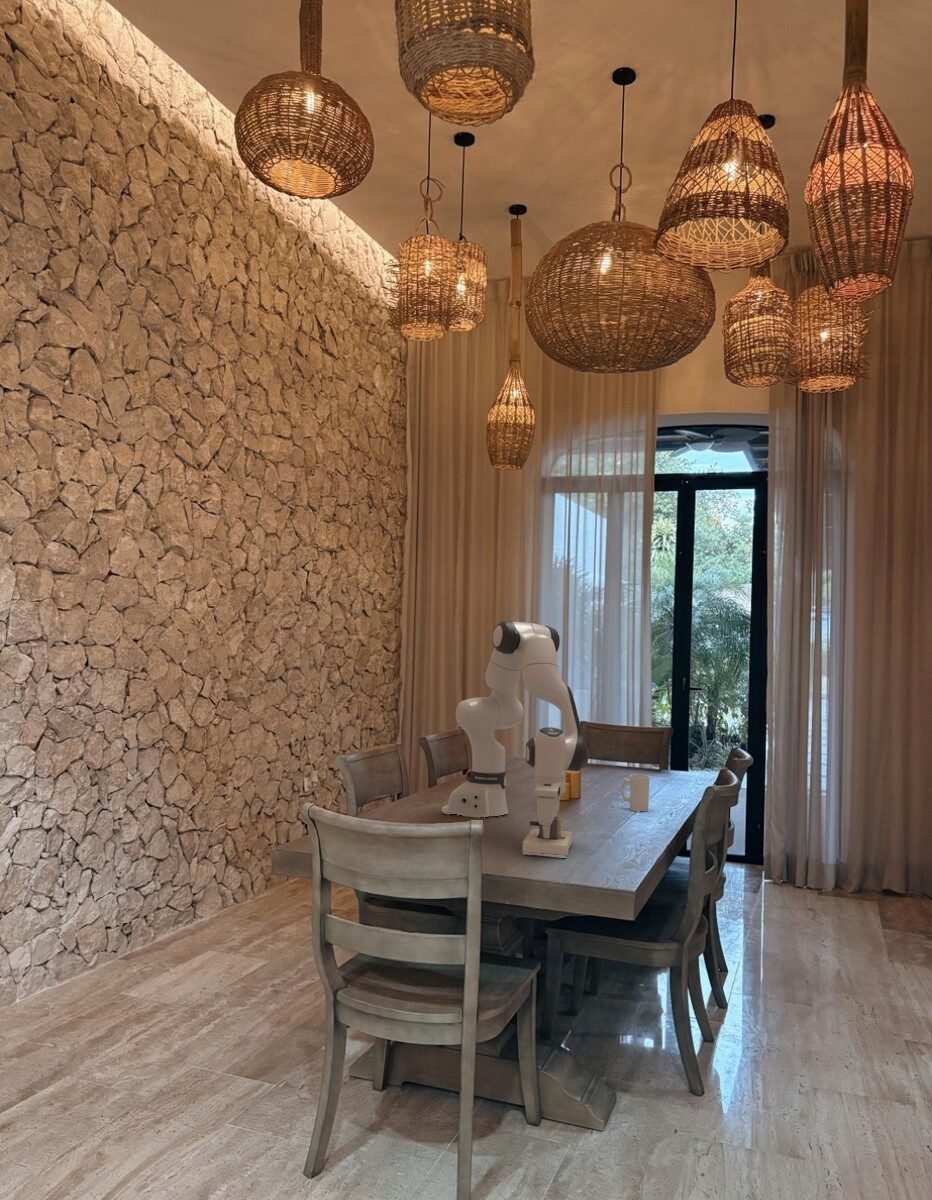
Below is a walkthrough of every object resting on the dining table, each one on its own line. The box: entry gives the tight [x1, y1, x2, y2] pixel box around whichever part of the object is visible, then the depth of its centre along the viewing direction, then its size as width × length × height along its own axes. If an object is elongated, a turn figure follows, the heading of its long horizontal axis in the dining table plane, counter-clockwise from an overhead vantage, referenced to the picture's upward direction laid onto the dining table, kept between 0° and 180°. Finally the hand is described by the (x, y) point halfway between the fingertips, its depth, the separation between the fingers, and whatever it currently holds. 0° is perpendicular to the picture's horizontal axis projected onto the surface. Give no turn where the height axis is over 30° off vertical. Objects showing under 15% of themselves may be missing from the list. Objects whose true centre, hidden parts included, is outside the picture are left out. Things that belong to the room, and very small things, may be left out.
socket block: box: [522, 828, 574, 856], centre depth 257 cm, size 12×18×4 cm, turn 168°
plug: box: [529, 816, 563, 840], centre depth 258 cm, size 9×4×8 cm, turn 78°
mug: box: [620, 773, 650, 813], centre depth 318 cm, size 10×7×12 cm, turn 69°
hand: (548, 834), depth 258 cm, fingers open, 7 cm apart
